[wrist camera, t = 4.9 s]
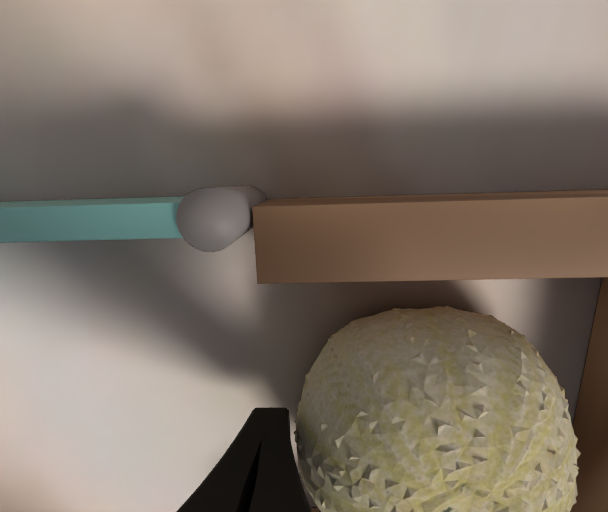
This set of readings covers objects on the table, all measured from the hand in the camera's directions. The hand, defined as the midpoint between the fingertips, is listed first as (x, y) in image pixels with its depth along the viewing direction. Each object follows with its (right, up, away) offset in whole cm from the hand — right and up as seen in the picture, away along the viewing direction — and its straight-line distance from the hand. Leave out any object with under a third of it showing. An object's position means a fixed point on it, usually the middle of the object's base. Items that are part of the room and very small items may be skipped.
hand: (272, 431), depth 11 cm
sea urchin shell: (+5, +1, +2) cm, 6 cm away
